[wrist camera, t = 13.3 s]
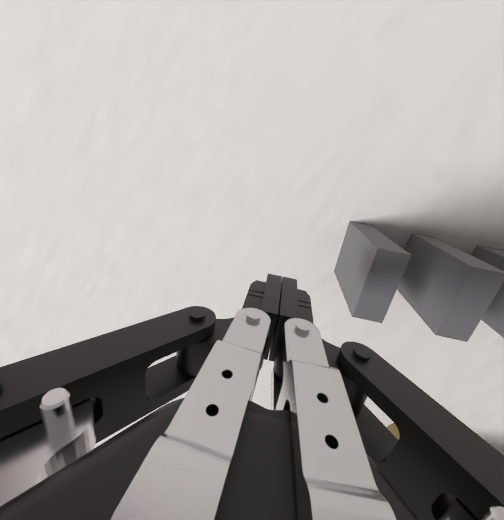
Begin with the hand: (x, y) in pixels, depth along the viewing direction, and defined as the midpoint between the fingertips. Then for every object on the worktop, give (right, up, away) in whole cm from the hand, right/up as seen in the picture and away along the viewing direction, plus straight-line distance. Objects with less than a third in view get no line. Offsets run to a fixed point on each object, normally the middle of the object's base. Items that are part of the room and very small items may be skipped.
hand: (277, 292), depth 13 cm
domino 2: (+13, +2, +10) cm, 17 cm away
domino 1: (+8, +3, +10) cm, 13 cm away
